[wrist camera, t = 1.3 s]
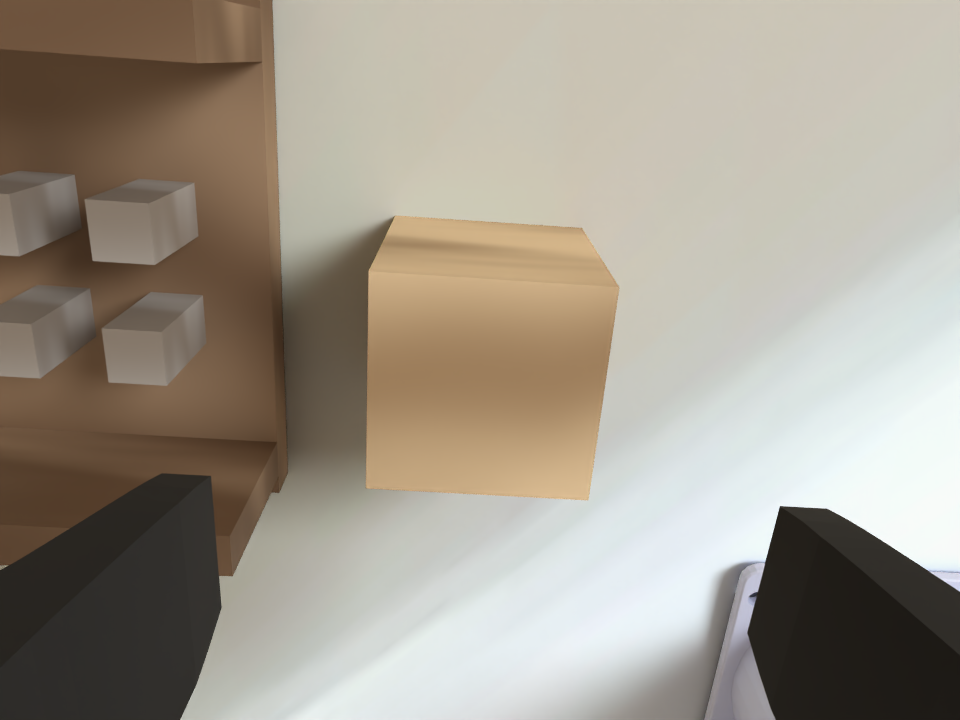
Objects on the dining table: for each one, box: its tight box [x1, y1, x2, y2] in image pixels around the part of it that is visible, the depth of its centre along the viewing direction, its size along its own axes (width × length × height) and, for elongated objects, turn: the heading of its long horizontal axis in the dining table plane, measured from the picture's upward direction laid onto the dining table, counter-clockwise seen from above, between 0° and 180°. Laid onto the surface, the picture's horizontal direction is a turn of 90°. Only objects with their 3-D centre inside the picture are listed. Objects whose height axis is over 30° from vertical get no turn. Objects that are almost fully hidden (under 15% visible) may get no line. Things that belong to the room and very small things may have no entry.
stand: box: [0, 0, 288, 576], centre depth 16 cm, size 12×7×5 cm, turn 176°
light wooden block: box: [366, 216, 619, 500], centre depth 16 cm, size 4×4×5 cm
